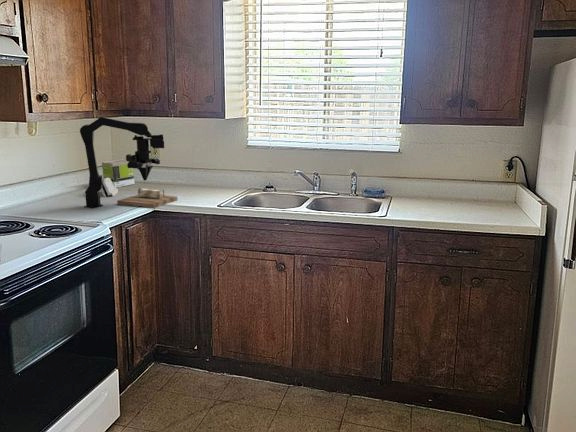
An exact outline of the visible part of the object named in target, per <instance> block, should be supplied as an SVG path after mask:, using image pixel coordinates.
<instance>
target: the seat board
mask: <svg viewBox="0 0 576 432" xmlns="http://www.w3.org/2000/svg"><path fill="white" fill-rule="evenodd" d="M153 190H161V189H157V188H153ZM162 190H163V197H162V198H153V197H139V196H138V194H135V195H132V196H129V197H125V198H121V199H117V200H116V202H117V204H119V206H127V205H135V206H134V207H138V206H143V207H142V208H149V209H155V208H158V207H161V206H162V207H163V206H164V205H167V203H168V204H170V203H174V202H176V201H178V196H175V195H165V190H164V189H162Z"/></svg>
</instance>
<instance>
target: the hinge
mask: <svg viewBox="0 0 576 432" xmlns="http://www.w3.org/2000/svg"><path fill="white" fill-rule="evenodd" d="M102 180H103V182H104V183H103V185H102V188H101V190H100V191H101V193H102V196H103V198H106V197H107V196H112V197H115V196H116V194H117V193H118V192H119V189H118V187H116V188H115V187H114V185H113V183H112V181H111V179H110V178H104V179H103V178H102Z"/></svg>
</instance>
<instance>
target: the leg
mask: <svg viewBox="0 0 576 432" xmlns="http://www.w3.org/2000/svg"><path fill="white" fill-rule="evenodd" d="M153 189H154V188H153ZM153 189H150V188H144V187H139V188H138V189H137V195H138V196H139V197H153V198H162V197H163V190H164V189H160V190H153Z"/></svg>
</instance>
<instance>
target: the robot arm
mask: <svg viewBox="0 0 576 432" xmlns="http://www.w3.org/2000/svg"><path fill="white" fill-rule="evenodd" d="M102 126H105V127H110V128H115V129H120V130H125V131H128V132H131V133H134V134H135V135H134V137H132V141H135V142H136V151H134V154H131V153H130V154H126V155H125V160H126V161H129V162H128V164H127V167H128V168H133V169H137V170H139V172H140V175H141V177H142V180H143V181H147V180H148V178H149V175H150V173H151V171H152V168H154V166H153V165H152V164H155V165H160V164H161V162H160V161H161V160H160V159H159V158H158V157H150V154H152V151H151V150H150V147H152V149H153V150H155V149H165V141H164V140H165V139H164V134H152V133H151V132H150V131H149V129H148V125H147V124H146V123H145V122H128V121H123V120H119V119H113V118H110V117H109V118H107V117H105V116H100V117H98V118H97V119H96V120H94V121H93V122H91V123H90V124H87V123H86V124H84V125H82V126H81V127H80V128H79V134H80V136H81V139H82V141H83V144H84V146H85V148H84V149H85V153H86V159H87V166H88V170H89V177H88V179H89V180H88V186H87V188H86V189H85V191H84V194H85V205H84V206H83V208H90V209H96V208H99V207H102V206H104V204H101V195H100V191H101V188H102V185H103V183H104V182H103V180H102V179H103V174H100V173H99V171H98V164H97V163H98V162H97V157H96V151H95V145H94V138H95V131H96V130H98V129H100V128H101V127H102ZM144 136H145V137H144Z"/></svg>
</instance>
